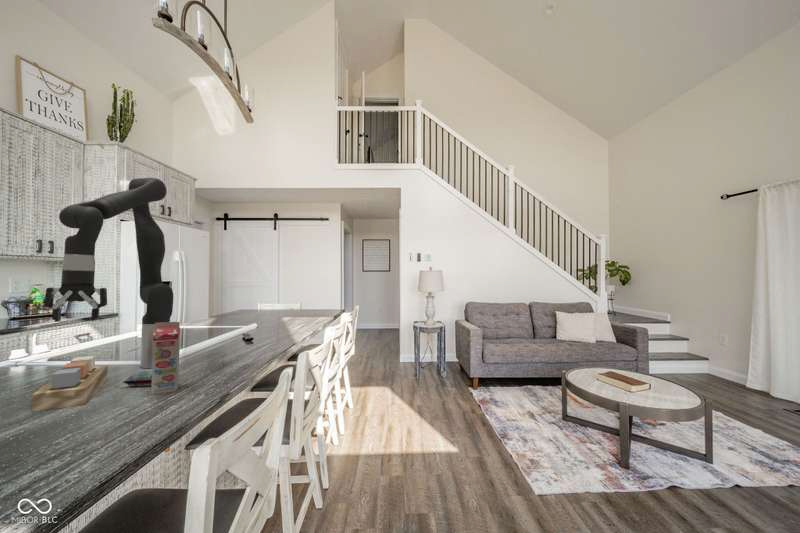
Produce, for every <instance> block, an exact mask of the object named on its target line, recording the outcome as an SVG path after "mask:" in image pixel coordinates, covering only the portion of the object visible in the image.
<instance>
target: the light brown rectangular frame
mask: <svg viewBox="0 0 800 533" xmlns="http://www.w3.org/2000/svg"><path fill="white" fill-rule="evenodd" d="M108 366H109V365H99V366H95V368H94V369H93V370H92V371H89V372H88V374H87V375H86V376H85V377H84V378H81V379H80V382H79V383H78V384H77V385H76V386H71V387H63V388H54V389H51V382H52V379H50V380H49V381H48V382H47V383H46V384H44V385H43V386H42V387H41V388H39V389H37V390H36V391H35V392H34V393H33V394H32V395H31V396H32V398H31V403H32V404H31V412H33V413H34V412H42V411H47V410H48V411H49V410H54V409H55V410H56V409H63V408H71V407H78V406H83V405H87V404H88V402H89V401H90V400H91V399H92V398H93V397H94V396H95V394H96V393H97V392H98V391H99V389H100V388H102V386H103V385H104V383H105V382H106V381H107V380H108V374H109V373H108V371H109V369H108V368H109V367H108Z"/></svg>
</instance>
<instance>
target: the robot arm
mask: <svg viewBox="0 0 800 533" xmlns="http://www.w3.org/2000/svg"><path fill="white" fill-rule="evenodd" d="M167 191H168V190H167V187H166V184H165V183H164V182H163V181H162V179H159V178H156V177H139V178H133V179H131V180H130V181H129V184H128V190H124V191H118V192H113V193H109V194H107V195H104V196H100V197H98V198H96V199H95V198H94V199H93V200H89V201H84V202H83V201H82V202H79V203H74V204H71V205H68V206H65V207H64V208H63V209H62V210H61V211H60V212H59V215H58V218H59V221H60V223H61V224H62V225H63V226H65V227H67V228H70V229H75V230H77V229H78V230H77V232H76V234H73V235H70V236H67V237H66V238H65V241H64V254H63V259H62V265H61V269H62V270H61V282H60V283H61V286H60V287H47V288H45V294H44V295H45V296H44V302H43V303H44V304H43V306H44V308H49V309H51V310H52V315H51V316H52V317H51V318H52V320H54V322H55V323H56V322H61V318H62V317H61V316H62V309H61V307H62V306H64V305H65V304H66V303H67V302H69V303H72V302H80V303H81V302H86V303H87V304H89V305H90V306H91V307H92V308H91V316H90V317H91V318H90V320H91V321H94V322H95V321H96V320H97V319H99V317H100V309H101V308H102V307H106V306H107V305H108V290H107V288H106V287H101V288H100V287H99V288H96V287H95V274H96V272H95V271H96V259H95V258H96V257H95V256H96V255H95V254H96V243H97V240H98V238H99V235H100V233H101V231H102V228H103V226H104V220H109V219H111V218H114V217H116V216H119V215H121V214H122V213H124V212H126V211H129V210H132V214H133V220H134V228H135V239H136V240H135V241H136V242H135V243H136V250H137V258H138V266H139V267H138V268H139V297H140V300H141V301H142V302H143V303H144V304H146V312H145V314H144V315H143V316H142V318H141V340H140V341H141V345H140V346H141V348H140V367H141V368H143V369H152V355H153V334H154V330H155V323H158V322H171V318H172V315H173V309H174V308H173V307H174V291H173V289H172V287H171V286H170V285H168V284H167V283H166V284H165V283H163V280H162V266H163V262H164V260H165V258H164V257H165V254H166V242H165V235H164V232H163V230H162V228H160V226H159V224H158V223H157V222H156V221H155V219H154V218H153V216H152V214H151V211H150V210H151V209H150V203H154V202H159V201H162V200H163V199H165V198H166V196H167V193H168V192H167ZM58 293H59V294H60V295H61V296H62V297H60V298H59V299H58V300H57V302H55V303H54V299H55V296H56V295H57V294H58ZM95 293H96V294H97V295H99V303H98V302H97V301H96V299H95V298H94V297H93V295H94V294H95Z"/></svg>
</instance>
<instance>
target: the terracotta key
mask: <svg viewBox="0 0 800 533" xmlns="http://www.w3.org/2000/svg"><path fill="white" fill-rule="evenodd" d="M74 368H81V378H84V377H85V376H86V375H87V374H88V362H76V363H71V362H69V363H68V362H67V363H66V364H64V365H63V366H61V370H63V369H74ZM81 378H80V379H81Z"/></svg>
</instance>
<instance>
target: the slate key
mask: <svg viewBox="0 0 800 533" xmlns="http://www.w3.org/2000/svg"><path fill="white" fill-rule="evenodd" d="M80 378H81V368H74V369H63V370H62V369H58V370H56V371H55V372H53V373H52V374H51V380H52V382H51V389H54V388H63V387H71V386H76V385H77V384H78V383H79V382H80Z"/></svg>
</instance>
